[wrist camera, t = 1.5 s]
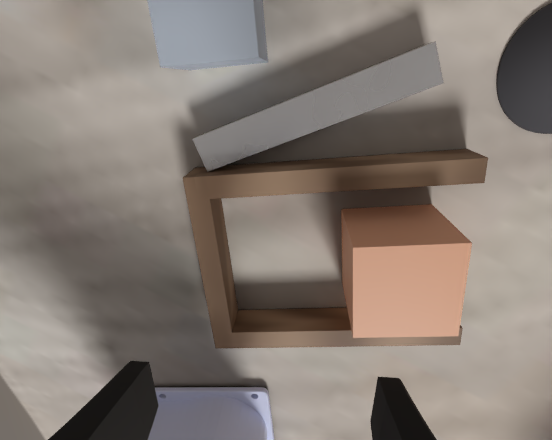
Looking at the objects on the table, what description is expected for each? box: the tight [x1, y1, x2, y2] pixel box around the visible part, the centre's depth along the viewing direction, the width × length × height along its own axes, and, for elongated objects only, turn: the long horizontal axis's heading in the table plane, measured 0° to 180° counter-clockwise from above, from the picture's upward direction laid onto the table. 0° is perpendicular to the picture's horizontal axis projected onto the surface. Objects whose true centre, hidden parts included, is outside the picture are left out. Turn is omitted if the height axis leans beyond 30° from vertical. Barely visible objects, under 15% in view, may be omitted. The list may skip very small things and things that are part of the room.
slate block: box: [147, 0, 268, 70], centre depth 15 cm, size 4×4×4 cm
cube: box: [341, 204, 472, 338], centre depth 18 cm, size 5×5×5 cm
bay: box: [183, 149, 488, 348], centre depth 19 cm, size 15×11×2 cm
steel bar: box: [192, 41, 443, 172], centre depth 17 cm, size 12×2×2 cm, turn 111°
